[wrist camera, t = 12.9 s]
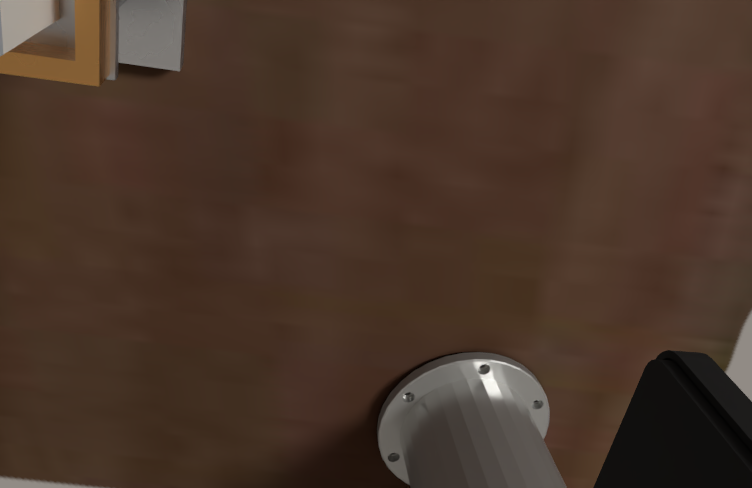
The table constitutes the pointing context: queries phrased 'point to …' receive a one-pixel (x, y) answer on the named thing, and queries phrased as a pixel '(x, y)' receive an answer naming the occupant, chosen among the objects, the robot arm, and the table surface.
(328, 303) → the table surface
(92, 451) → the table surface
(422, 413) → the robot arm
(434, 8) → the table surface
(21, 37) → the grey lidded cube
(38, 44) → the grey and orange container
